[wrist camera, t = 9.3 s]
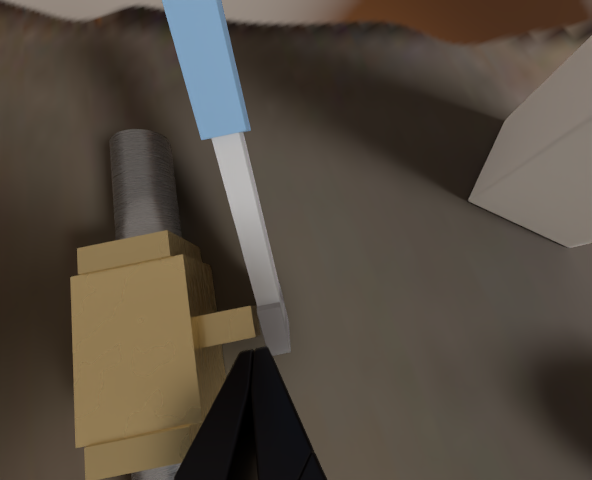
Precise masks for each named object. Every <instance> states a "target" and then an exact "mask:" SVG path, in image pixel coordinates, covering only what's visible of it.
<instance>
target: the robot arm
mask: <svg viewBox="0 0 592 480" xmlns="http://www.w3.org/2000/svg"><path fill="white" fill-rule="evenodd" d="M174 480H327V478H326V476H325V474H324V472H323V470H322V467H321V465H320V463H319V461H318V458H317V456H316V454H315V453H314V450H313V447H312V445H311V443H310V440H309V438H308V436H307V434H306V431H305V429H304V427H303V425H302V422H301V420H300V418H299V415H298V413H297V411H296V409H295V406H294V404H293V402H292V400H291V397H290V395H289V393H288V390H287V388H286V386H285V384H284V381H283V379H282V377H281V375H280V372H279V370H278V368H277V365H276V363H275V361H274V359H273V356H272V354H271V352H270V350H269V348H268V347H267V346H265V347H260V348H256V349H255V350H253V349H250V350H245V351H241V352H240V353H239V355H238V356H237V358H236V360H235V362H234V364H233V366H232V368H231V370H230V372H229V374H228V375H227V377H226V379H225V381H224V383H223V385H222V387H221V389H220V391H219V393H218V394H217V396H216V398H215V400H214V402H213V404H212V406H211V408H210V410H209V412H208V413H207V415H206V417H205V419H204V421H203V423H202V425H201V427H200V429H199V431H198V432H197V434H196V436H195V438H194V440H193V442H192V444H191V446H190V448H189V450H188V451H187V453H186V455H185V457H184V459H183V461H182V463H181V465H180V467H179V469H178V470H177V472H176V474H175V476H174Z"/></svg>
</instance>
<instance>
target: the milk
mask: <svg viewBox="0 0 592 480" xmlns="http://www.w3.org/2000/svg"><path fill="white" fill-rule="evenodd" d="M468 201H469V202H471V203H473V204H475V205H477V206H479V207H482V208H484V209H486V210H488V211H490V212H492V213H495V214H497V215H499V216H501V217H503V218H505V219H507V220H510V221H512V222H514V223H516V224H518V225H520V226H523V227H525V228H527V229H529V230H531V231H533V232H536V233H538V234H540V235H542V236H544V237H546V238H548V239H551V240H553V241H555V242H557V243H559V244H561V245H564V246H566V247H569V248H571V247H576V246H580V245H584V244H588V243H592V36H591V37H590V38H589V39H588V40H587V41H586V42H585V43H584V44H583V45H582V46H581V47H580V48H578V49H577V50H576V51H575V52H574V53H573V54H572V55H571V56H570V57H569V58H568V59H567V60H566V61H565V62H564V63H563V64H562V65H561V66H560V67H559V68H558V69H557V70H556V71H555V72H554V73H553V74H552V75H551V76H550V77H549V78H548V79H547V80H546V81H545V82H544V83H543V84H542V85H540V86H539V87H538V88H537V89H536V90H535V91H534V92H533V93H532V94H531V95H530V96H529V97H528V98H527V99H526V100H525V101H524V102H523V103H522V104H521V105H520V106H519V107H518V108H517V109H516V110H515V111H514V112H513V113H512V114H511V115H510V116H509V117H508V118H507V119H506V120H505V121H504V123H503V125H502V127H501V130H500V132H499V134H498V136H497V138H496V140H495V143H494V145H493V147H492V149H491V151H490V153H489V156H488V158H487V160H486V162H485V164H484V166H483V168H482V171H481V173H480V175H479V177H478V179H477V181H476V184H475V186H474V188H473V190H472V192H471V194H470V197H469V199H468Z"/></svg>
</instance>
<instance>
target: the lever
mask: <svg viewBox="0 0 592 480" xmlns="http://www.w3.org/2000/svg"><path fill="white" fill-rule="evenodd" d="M162 2H163V6H164V9H165V13H166V17H167V20H168V24H169V27H170V31H171V34H172V38H173V41H174V45H175V48H176V52H177V55H178V59H179V63H180V66H181V70H182V73H183V77H184V80H185V84H186V87H187V91H188V94H189V98H190V101H191V105H192V108H193V112H194V116H195V119H196V123H197V126H198V130H199V133H200V137H201V140H205V139H212V142H213V145H214V149H215V153H216V156H217V160H218V164H219V168H220V171H221V175H222V179H223V182H224V186H225V190H226V193H227V197H228V201H229V204H230V208H231V212H232V215H233V219H234V223H235V226H236V230H237V234H238V237H239V241H240V245H241V249H242V252H243V256H244V260H245V263H246V267H247V271H248V274H249V278H250V282H251V285H252V289H253V293H254V296H255V300H256V304H257V314H258V318H259V322H260V325H261V329H262V333H263V336H264V340H265V344H266V346H267V347H268V348H269V350H270V352H271V354H272V356H274V355H279V354H284V353H289V352H291V348H290V334H289V321H288V316H287V312H286V308H285V304H284V299H283V295H282V291H281V287H280V282H279V281H278V277H277V273H276V269H275V265H274V260H273V256H272V252H271V248H270V243H269V239H268V235H267V231H266V227H265V222H264V218H263V214H262V210H261V205H260V201H259V197H258V193H257V188H256V184H255V180H254V176H253V172H252V167H251V163H250V159H249V155H248V150H247V146H246V142H245V138H244V133H243V132H247V131H251V129H250V124H249V120H248V115H247V111H246V107H245V102H244V98H243V93H242V89H241V85H240V80H239V76H238V72H237V67H236V63H235V58H234V54H233V50H232V45H231V41H230V36H229V32H228V28H227V23H226V19H225V14H224V10H223V6H222V1H221V0H162Z"/></svg>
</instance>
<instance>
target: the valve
mask: <svg viewBox="0 0 592 480" xmlns="http://www.w3.org/2000/svg"><path fill="white" fill-rule="evenodd" d="M109 144H110V159H111V174H112V189H113V205H114V220H115V235H116V241H111V242H106V243H101V244H96V245H91V246H86V247H81V248H77V262H78V274H80V275H77V276H72V277H70V281H71V313H72V346H73V378H74V411H75V443H76V448H79V447H84V446H86V447H85V448H84V454H85V480H99V479H104V478H109V477H114V476H119V475H124V474H129V473H131V477H132V480H174V476H175V474H176V472H177V470H178V469H179V467H180V465H181V463H182V461H183V459H184V457H185V455H186V453H187V451H188V450H189V448H190V446H191V444H192V442H193V440H194V438H195V436H196V434H197V432H198V431H199V429H200V427H201V425H202V423H203V421H204V419H205V417H206V415H207V413H208V412H209V410H210V408H211V406H212V404H213V402H214V400H215V398H216V396H217V394H218V393H219V391H220V389H221V387H222V385H223V383H224V381H225V379H226V374H225V367H224V359H223V352H222V344H223V343H228V342H233V341H238V340H243V339H248V338H253V337H257V336H259V335H261V334H260V328H259V322H258V316H257V310H256V306H246V307H241V308H236V309H231V310H226V311H221V312H217V307H216V300H215V293H214V285H213V278H212V270H211V266H210V265H207V264H205V263H203V262H202V260H201V253H200V248H199V247H197V246H196V245H194V244H192V243H190V242H188V241H187V240H185V239H183V238H182V236H181V228H180V219H179V210H178V202H177V193H176V184H175V176H174V167H173V159H172V150H171V144H170V142H169V140H168V139H167V138H166V137H164V136H163V135H161V134H159V133H156V132H153V131H150V130H144V129H129V130H123V131H120V132H118V133H116V134H114V135H113V136H112V137H111V138H110V141H109Z"/></svg>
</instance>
